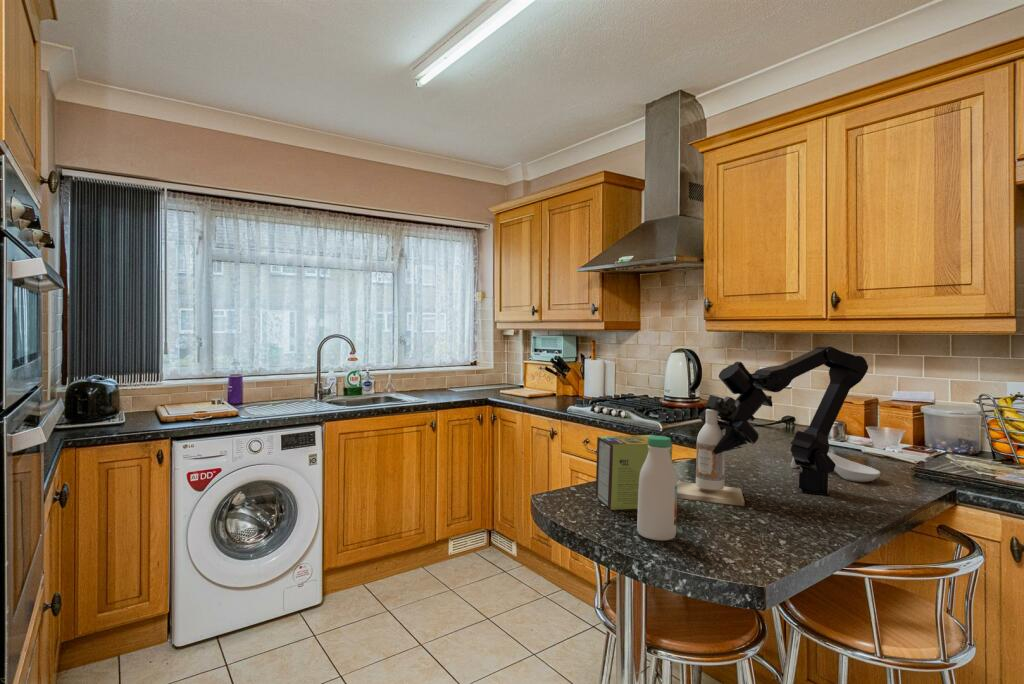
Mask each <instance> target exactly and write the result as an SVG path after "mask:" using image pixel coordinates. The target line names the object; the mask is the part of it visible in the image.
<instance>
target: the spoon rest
mask: <svg viewBox="0 0 1024 684" xmlns="http://www.w3.org/2000/svg"><path fill="white" fill-rule="evenodd" d="M827 455H828V456H829V457H830V458H831V460H832V461H833V462H834V463H835V464H836V466H835V469H834V471H835V473H836V474H838V475H839V476H840V478H842V479H843V480H845V481H850V482H857V483H867V482H868V483H869V482H872V481H874V480H876V479H877V478H879V477H880V475H881V473H882V472H881V471H880V470H878V469H876V468H874V467H871V466H868V465H864V464H861V463H858V462H855V461H853V460H852V461H851V459H850V460H849V459H847V458H845V457H841V456H839V455H837V454H834V453H832V452H829V451H828V454H827ZM790 468H791V469H796V468H800V465H796V464H795V460H794V457H792V459H791V463H790Z"/></svg>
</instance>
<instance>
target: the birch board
mask: <svg viewBox="0 0 1024 684" xmlns="http://www.w3.org/2000/svg"><path fill="white" fill-rule="evenodd" d="M677 499H681V500H690V501H698V502H707V503H715V504H723V505H731V506H741V507H745V503H746V502H745V501H746V500H745V498H744V496H743V492H742V489H741V487H734V486H731V487H730V486H725V485H724V488H723V489H721V490H707V489H702V488H700V487H698V486H697V485H696V482H689V481H678V480H677Z"/></svg>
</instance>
